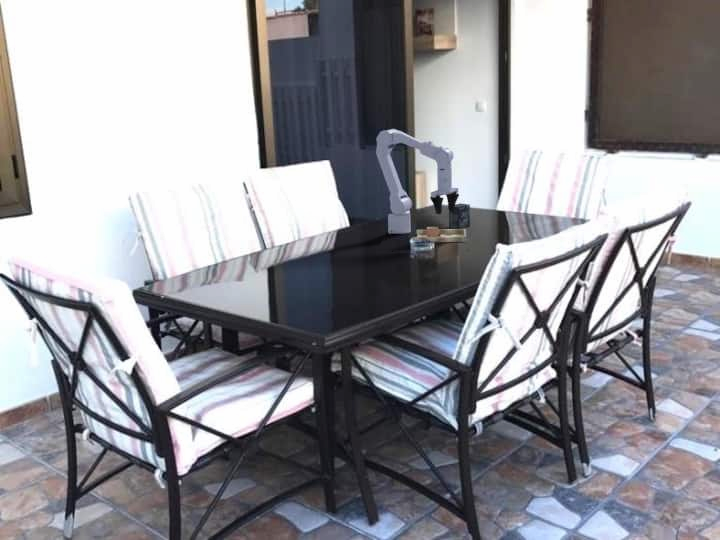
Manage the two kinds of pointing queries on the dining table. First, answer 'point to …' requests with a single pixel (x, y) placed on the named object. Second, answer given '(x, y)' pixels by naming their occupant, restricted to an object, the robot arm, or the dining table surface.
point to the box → (460, 216)
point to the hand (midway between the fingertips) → (444, 212)
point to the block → (432, 232)
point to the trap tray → (444, 235)
